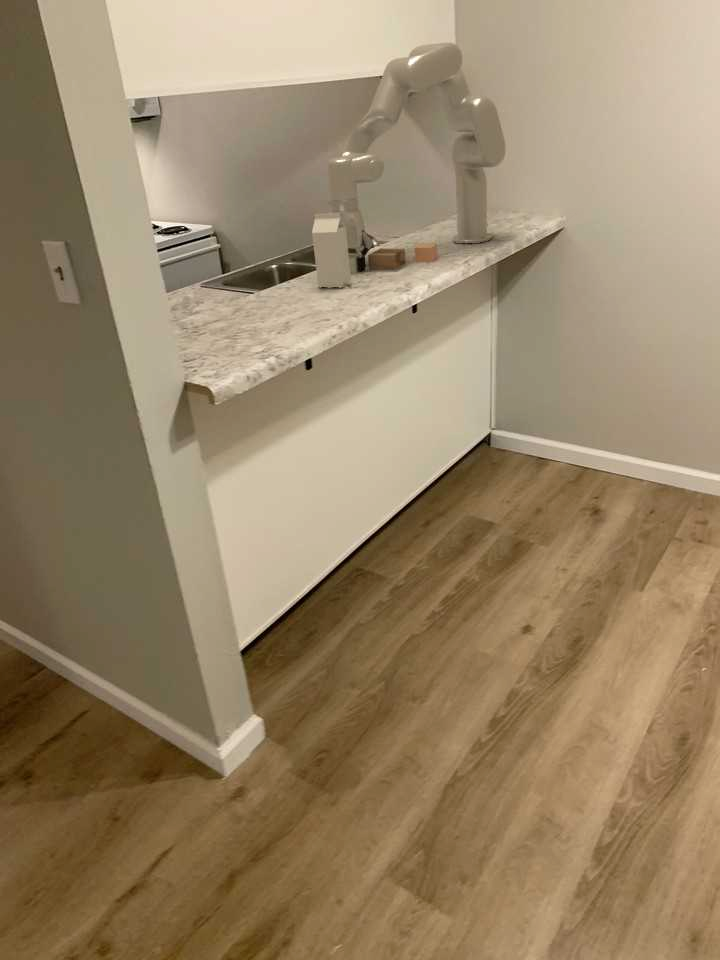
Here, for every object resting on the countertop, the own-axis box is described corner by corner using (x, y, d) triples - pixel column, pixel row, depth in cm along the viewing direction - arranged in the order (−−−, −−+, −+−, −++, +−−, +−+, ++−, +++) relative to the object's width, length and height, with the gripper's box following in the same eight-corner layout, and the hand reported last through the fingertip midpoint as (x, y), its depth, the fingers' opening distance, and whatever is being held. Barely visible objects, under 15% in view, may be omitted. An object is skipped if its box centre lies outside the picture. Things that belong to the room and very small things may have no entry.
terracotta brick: (422, 260, 220) (421, 243, 217) (437, 261, 217) (437, 243, 215) (415, 264, 216) (414, 247, 213) (431, 265, 214) (430, 247, 211)
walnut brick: (381, 262, 219) (380, 248, 217) (405, 262, 215) (404, 248, 213) (369, 268, 213) (367, 254, 211) (393, 269, 209) (392, 255, 207)
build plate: (378, 262, 222) (378, 260, 221) (414, 263, 216) (414, 261, 216) (360, 273, 213) (359, 270, 212) (397, 274, 207) (397, 271, 207)
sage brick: (346, 270, 218) (345, 253, 215) (364, 270, 215) (363, 253, 213) (337, 275, 213) (335, 258, 211) (355, 276, 211) (353, 258, 208)
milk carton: (342, 288, 200) (335, 216, 190) (318, 288, 202) (309, 217, 193) (351, 281, 205) (344, 210, 196) (327, 281, 208) (319, 211, 198)
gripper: (311, 208, 206) (319, 272, 215) (366, 207, 198) (371, 274, 207) (325, 203, 212) (331, 266, 220) (378, 202, 204) (383, 267, 213)
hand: (351, 269), depth 214 cm, fingers open, 6 cm apart
